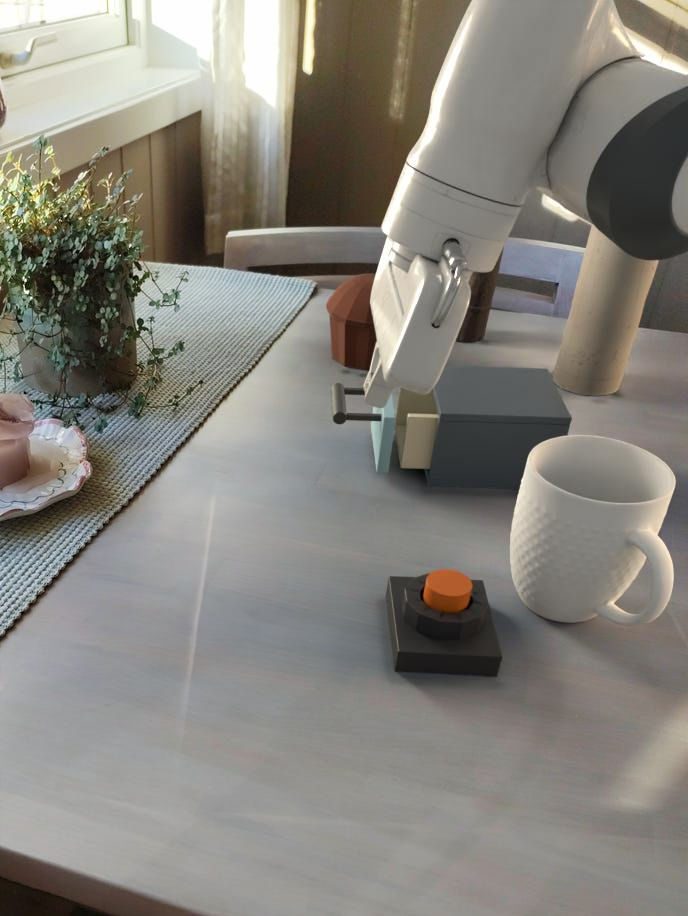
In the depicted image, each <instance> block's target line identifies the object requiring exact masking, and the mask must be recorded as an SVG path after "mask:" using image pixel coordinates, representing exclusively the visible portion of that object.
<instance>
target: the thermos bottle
mask: <svg viewBox="0 0 688 916" xmlns="http://www.w3.org/2000/svg"><path fill="white" fill-rule="evenodd" d="M581 261H582V262H581V265H580V270H579V273H578V277H577V281H576V284H575V289H574V293H573V297H572V302H571V307H570V310H569V314H568V318H567V320H566V324H565V327H564V331H563V335H562V339H561V342H560V347H559V350H558V353H557V358H556V362H555V365H554V371H553V374H552V379H553V381H554V383H555V385H556V386H557V387H558V388H561V389H562V390H565V391H568V392H570V393H574V394H577V395H582V396H591V397H592V396H593V397H594V396H595V397H599V396H600V397H601V396H607V395H612V394H614V393H616V392H617V391H618V390H619V389H620V387H621V383H622V381H623V378H624V374H625V371H626V368H627V365H628V360H629V357H630V354H631V351H632V348H633V345H634V341H635V338H636V335H637V332H638V329H639V325H640V322H641V319H642V315H643V312H644V309H645V304H646V300H647V297H648V295H649V291H650V288H651V286H652V283H653V280H654V278H655V275H656V271H657V268H658V264H659V262H660V260H642V259H638V258H635V257H633V256H630V255H629V254H627V253H626V252H624V251H623V250H622V249H621V248H619V247H618V246H617V245H616V244H615V243H613V242H612V241H611V240H610V239H609V238H607V237H606V236H605V235H604V234H603V233H601V232H600V231H599V230H598V229H597V228H596V227H595V226H594V225H593V224H591V227H590V231H589V234H588V239H587V242H586V246H585V250H584V253H583V258H582V260H581Z"/></svg>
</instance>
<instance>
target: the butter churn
mask: <svg viewBox="0 0 688 916" xmlns="http://www.w3.org/2000/svg"><path fill="white" fill-rule="evenodd" d="M504 249H505V246H504V247H503V249H502V251H501V254H500V256H499V258H498V260H497V262H496V264H495V266H494V268H493V270H492V271H490V272H485V273H482V272H473V273H472V275H471V276H470V280H469V282H468V284H469V286H470V289H471V297H470V302H469V306H468V309H467V312H466V315H465V318H464V320H463V323H462V326H461V328H460V331H459V333H458V336H457V338H456V340H455V341H458V342H463V343H467V342H473V341H481V340H483V339H484V338H485V336H486V331H487V327H488V321H489V316H490V311H491V309H492V304H493V299H494V295H495V290H496V286H497V282H498V277H499V272H500V269H501V262H502V258H503V253H504Z"/></svg>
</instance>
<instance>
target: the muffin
mask: <svg viewBox="0 0 688 916" xmlns="http://www.w3.org/2000/svg"><path fill="white" fill-rule="evenodd" d="M375 275H376V273H367V272H366V273H361V274H357V275H355V276H353V277H351V278H349V279H347V280H345V281H344V282H342V283H340V285H338V287H337V288H335V290H334V292H333V293H332V294H331V296H330V297H328V300H327V301H326V304H325V308H326V311H327V313H328V314H329V325H330V326H329V328H330V329H329V330H330V343H331V359H332V360H334V361H336V362H338V363H340V364H341V365H342V366H343V367H347V368H354V369H358V370H362V371H369V370H370V366H371V362H372V357H373V353H374V349H375V345H376V342H377V337H376V332H375V326H374V321H373V315H372V310H371V305H370V298H371V291H372V287H373V282H374V279H375Z"/></svg>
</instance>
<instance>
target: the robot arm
mask: <svg viewBox="0 0 688 916" xmlns="http://www.w3.org/2000/svg"><path fill="white" fill-rule="evenodd" d="M644 57H645V54H644V53H643V51H642V50H641V49H640V48H639V46H637V45H636V44H635V42H634V40H633V39H632V37H631V36H630V35H629V33H628V31H627V29H626V27H625V26H624V24H623V21H622V19H621V17H620V15H619V12H618V9H617V7H616V3H615V1H614V0H471V1H470V3H469V4H468V6H467V8H466V11H465V12H464V15H463V17H462V19H461V21H460V24H459V26H458V28H457V30H456V32H455V34H454V36H453V39H452V42H451V44H450V46H449V49H448V51H447V54H446V56H445V57H444V61H443V63H442V65H441V68H440V71H439V73H438V75H437V78H436V81H435V84H434V86H433V89H432V91H431V97H430V103H429V104H430V105H429V112H428V116H427V120H426V123H425V126H424V128H423V131H422V133H420V134H421V135H420V137H419V138H418V140H417V141H416V143H415V144H414V145H413V147H412V148H411V150H410V151H409V153H408V155H407V157H406V160H405V163H404V165H403V168H402V170H401V173H400V174H399V178H398V180H397V184H396V186H395V189H394V191H393V194H392V196H391V200H390V202H389V204H388V207H387V209H386V212H385V216H384V217H383V220H382V223H381V225H380V229H381V231H382V232H383V234H384V235H385V236H386V239H385V242H384V246H383V249H382V252H381V255H380V259H379V262H378V265H377V268H376V272H375V274H376V275H375V279H374V282H373V287H372V291H371V298H370V305H371V310H372V315H373V321H374V326H375V332H376V337H377V342H376V345H375V349H374V353H373V357H372V362H371V366H370V370H368V373H367V375H366V378H365V379H364V383H363V387H362V388H364V393H365V395H364V403H366V404H367V405H369V406H371V407H373V406H374V407H378V408H383V407H385V406H386V404H387V402H388V400H389V397H390V395H391V393H392V394H393V390H395V388H396V387H397V388H399V389H400V388H402V389H405V390H409V391H412V392H415V393H419V394H423V395H426V394H428V393H429V392H430V391H431V390H432V389H433V388H434V386H435V385H436V384H437V382H438V380H439V378H440V376H441V374H442V371H443V369H444V367H445V366H446V365H447V362H448V360H449V357H450V355H451V352H452V350H453V348H454V345H455V343H456V341H457V340H456V338H457V336H458V333H459V331H460V328H461V326H462V323H463V320H464V318H465V315H466V312H467V309H468V306H469V302H470V297H471V289H470V286H469V284H468V282H469V280H470V276H471V275H472V273H473V272H482V273H485V272H490V271H492V270H493V268H494V266H495V264H496V262H497V260H498V258H499V256H500V254H501V251H502V249H503V247H504V248H505V245H506V243H507V241H508V239H509V236H510V234H511V232H512V230H513V228H514V226H515V224H516V221H517V219H518V217H519V215H520V213H521V211H522V208H523V207H524V205H525V202H526V199H527V197H528V195H529V193H530V192H531V191H532V190H533V189H536V190H538V191H539V192H540V193H541V194H543V195H545V196H546V197H548V198H550V199H552V201H555V202H556V203H558V204H559V205H560V206H561V207H563V208H564V209H565V210H567V211H568V212H570V213H572V214H573V215H575V216H577V217H579V218H581V219H582V220H584V221H585V222H587V223H589V224H591V225H592V224H593V225H594V226H595V227H596V228H597V229H598V230H599V231H600V232H601V233H603V234H604V235H605V236H606V237H607V238H609V239H610V240H611V241H612V242H613V243H615V244H616V245H617V246H618V247H619V248H621V249H622V250H623V251H624V252H626V253H627V254H629V255H630V256H633V257H635V258H638V259H642V260H659V261H664V260H668V259H672V258H675V257H678V256H681V255H683V254H686V253H688V73H687V74H685V73H681V72H679V71H675V70H672V69H670V68H666V67H663V66H661V65H658V64H656V63H654V62H652V61H649V60H647V59H644ZM503 250H504V249H503Z"/></svg>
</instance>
